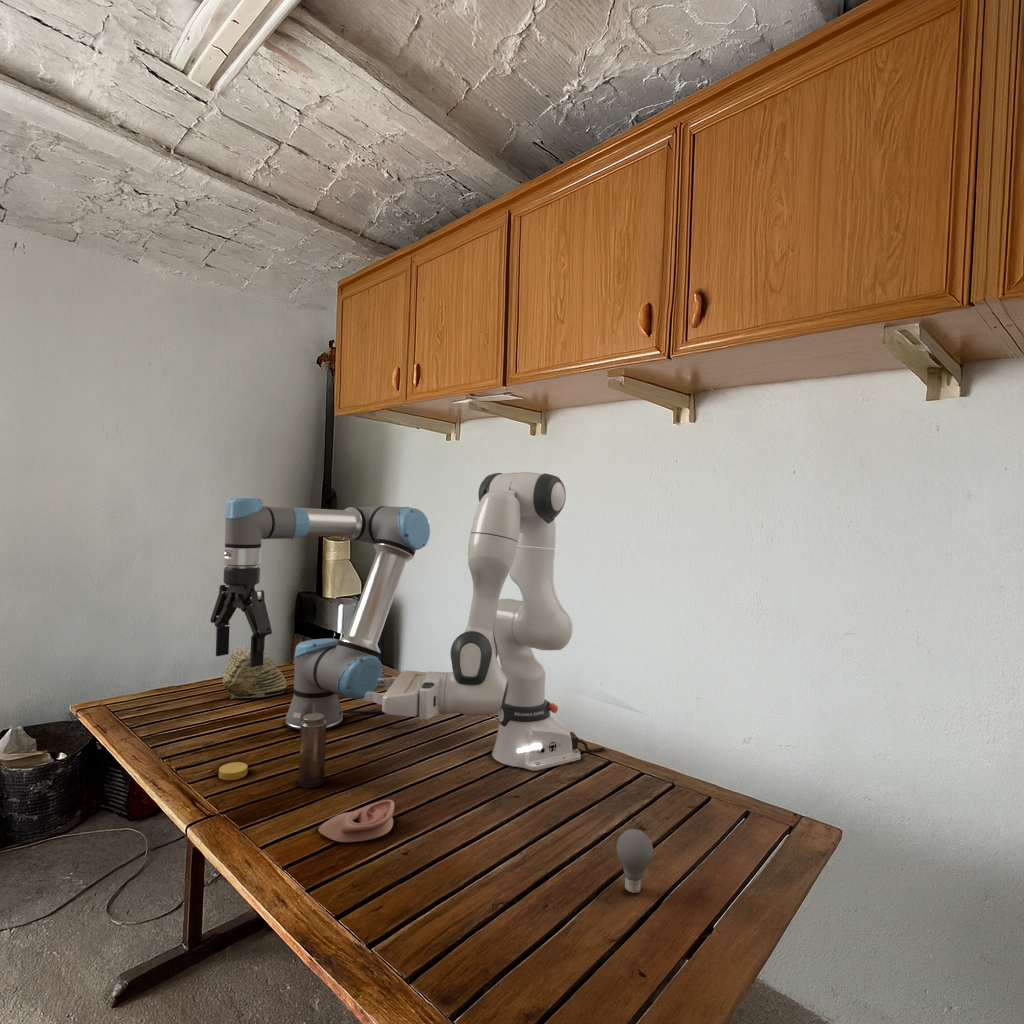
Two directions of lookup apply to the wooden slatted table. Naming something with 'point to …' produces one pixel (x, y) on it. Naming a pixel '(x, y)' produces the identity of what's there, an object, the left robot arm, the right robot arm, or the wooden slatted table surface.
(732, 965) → the wooden slatted table surface
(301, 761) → the jar
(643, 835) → the light bulb
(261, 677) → the fossil
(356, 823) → the anatomical model
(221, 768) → the lid
